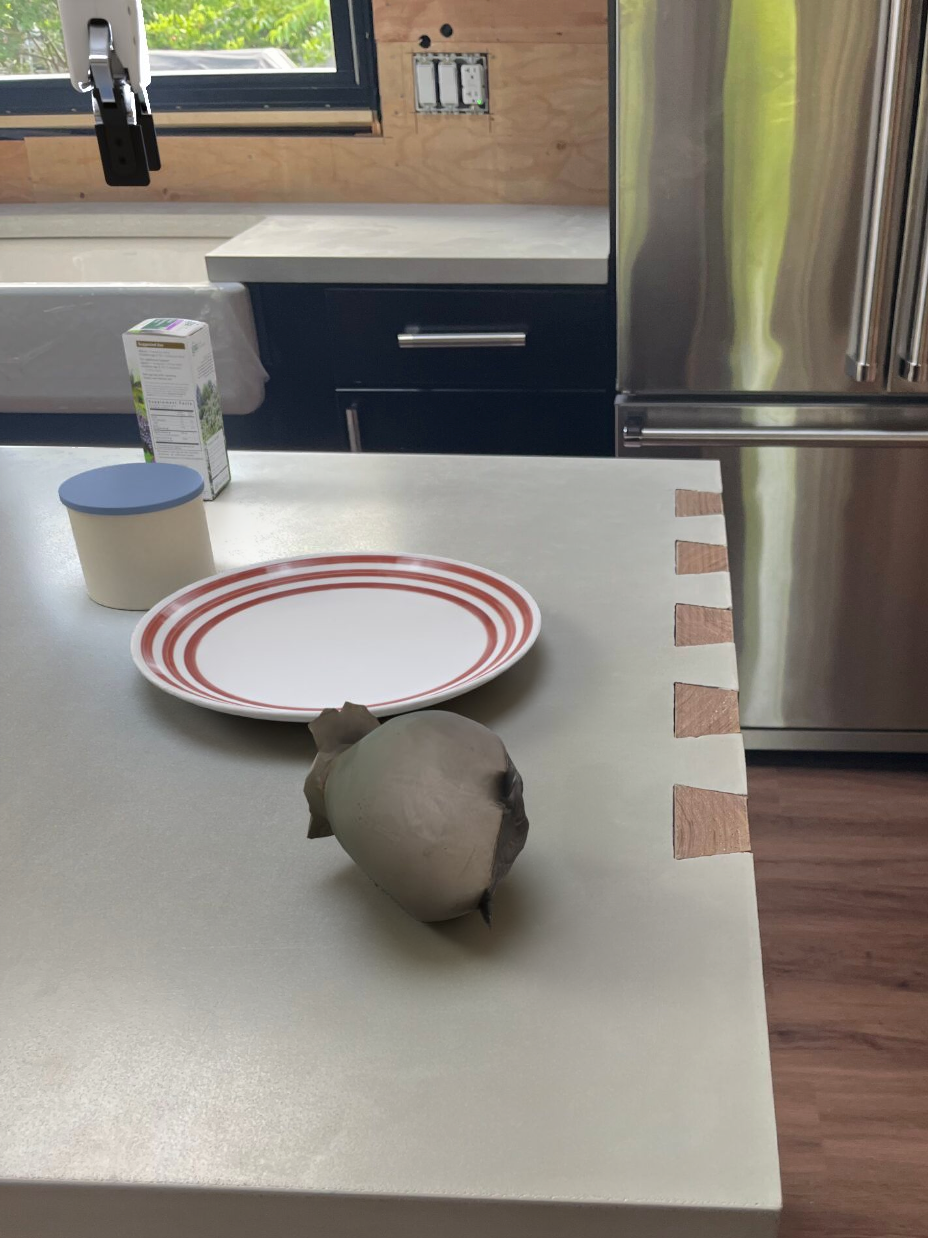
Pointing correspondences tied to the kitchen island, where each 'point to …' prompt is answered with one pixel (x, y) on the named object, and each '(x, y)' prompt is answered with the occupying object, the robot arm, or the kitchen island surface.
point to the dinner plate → (335, 634)
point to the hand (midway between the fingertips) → (135, 177)
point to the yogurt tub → (139, 531)
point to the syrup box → (178, 398)
